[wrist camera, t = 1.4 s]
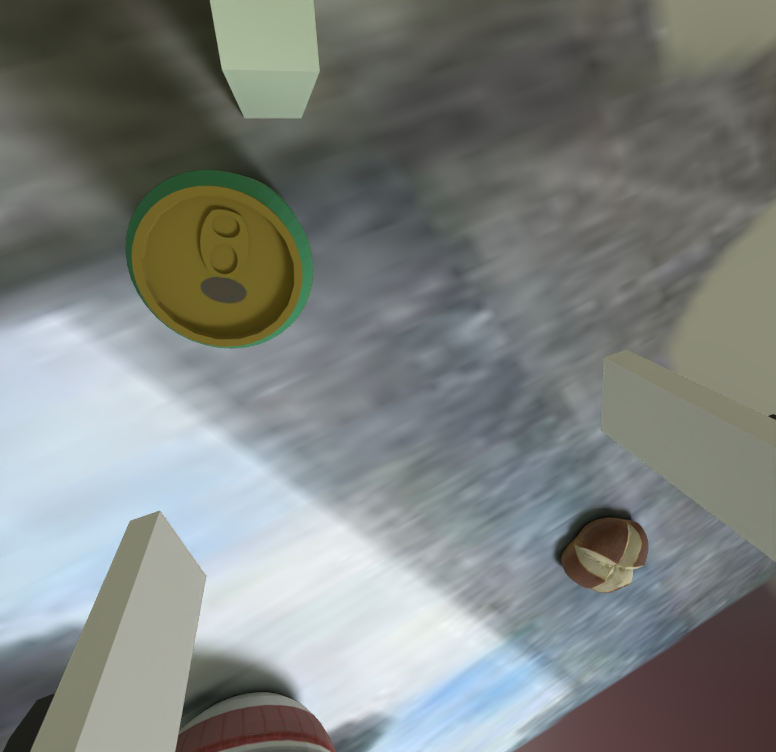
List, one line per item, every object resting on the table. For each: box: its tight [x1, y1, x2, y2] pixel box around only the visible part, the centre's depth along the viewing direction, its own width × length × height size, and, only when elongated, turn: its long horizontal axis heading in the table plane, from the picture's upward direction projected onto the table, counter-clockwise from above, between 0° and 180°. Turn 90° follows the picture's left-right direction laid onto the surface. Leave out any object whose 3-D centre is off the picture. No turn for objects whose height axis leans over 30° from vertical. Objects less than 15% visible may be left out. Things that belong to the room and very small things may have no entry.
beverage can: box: [126, 170, 313, 348], centre depth 22 cm, size 8×8×12 cm
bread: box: [561, 517, 648, 593], centre depth 52 cm, size 11×11×5 cm
